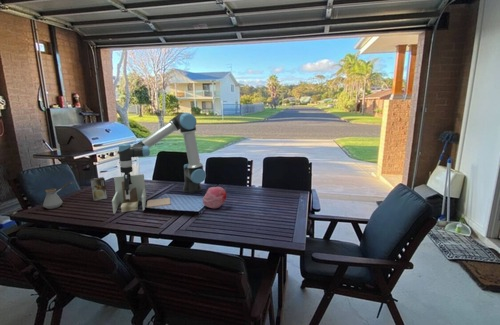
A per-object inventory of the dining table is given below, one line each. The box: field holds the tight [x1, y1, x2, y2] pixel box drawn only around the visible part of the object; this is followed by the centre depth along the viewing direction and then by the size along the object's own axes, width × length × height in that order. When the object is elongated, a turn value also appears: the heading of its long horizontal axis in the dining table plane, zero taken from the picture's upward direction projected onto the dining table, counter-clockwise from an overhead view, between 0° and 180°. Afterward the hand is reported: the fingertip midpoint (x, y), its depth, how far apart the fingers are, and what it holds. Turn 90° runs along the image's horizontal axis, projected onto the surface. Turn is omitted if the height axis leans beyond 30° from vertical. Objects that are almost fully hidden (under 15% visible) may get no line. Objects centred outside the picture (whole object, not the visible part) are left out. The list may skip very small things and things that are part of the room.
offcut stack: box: [120, 201, 139, 213], centre depth 186 cm, size 11×8×4 cm
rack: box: [111, 173, 147, 215], centre depth 191 cm, size 20×22×20 cm
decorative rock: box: [202, 186, 228, 210], centre depth 187 cm, size 19×14×15 cm
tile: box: [146, 197, 172, 208], centre depth 198 cm, size 16×14×1 cm
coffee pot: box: [42, 181, 73, 210], centre depth 196 cm, size 21×12×15 cm, turn 159°
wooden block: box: [122, 181, 139, 203], centre depth 191 cm, size 4×11×18 cm, turn 69°
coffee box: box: [90, 176, 108, 201], centre depth 209 cm, size 9×6×16 cm
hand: (128, 196), depth 190 cm, fingers open, 13 cm apart
